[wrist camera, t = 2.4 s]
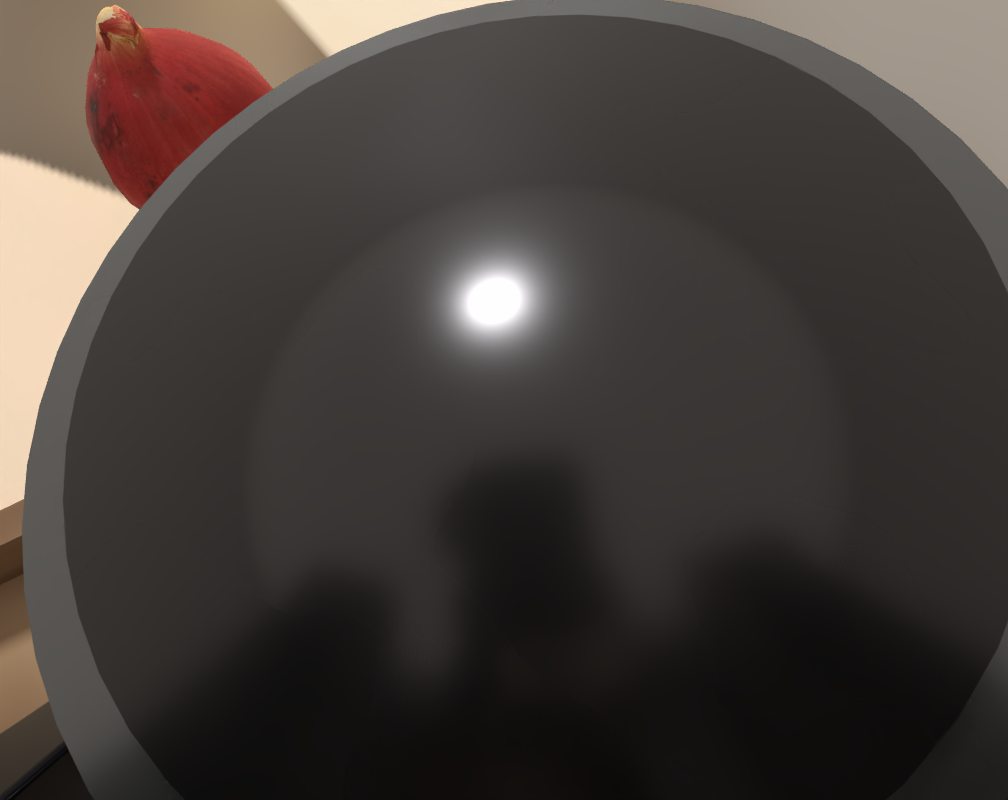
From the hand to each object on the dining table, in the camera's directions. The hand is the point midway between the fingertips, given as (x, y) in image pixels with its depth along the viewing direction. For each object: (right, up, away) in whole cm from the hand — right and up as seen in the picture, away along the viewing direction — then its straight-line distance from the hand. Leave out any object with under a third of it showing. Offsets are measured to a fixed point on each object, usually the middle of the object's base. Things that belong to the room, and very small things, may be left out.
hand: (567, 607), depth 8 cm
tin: (+1, -2, +9) cm, 9 cm away
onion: (-10, +10, +16) cm, 21 cm away
